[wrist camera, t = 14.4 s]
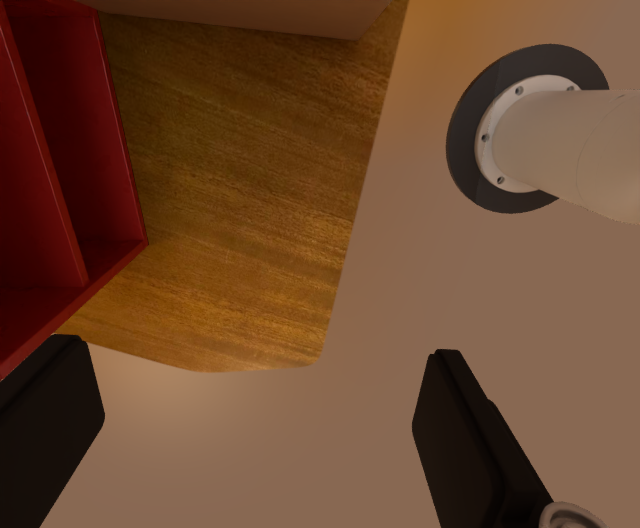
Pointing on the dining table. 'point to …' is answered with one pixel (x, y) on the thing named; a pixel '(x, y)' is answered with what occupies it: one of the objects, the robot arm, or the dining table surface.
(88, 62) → the box
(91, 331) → the dining table surface
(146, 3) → the door
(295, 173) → the dining table surface
